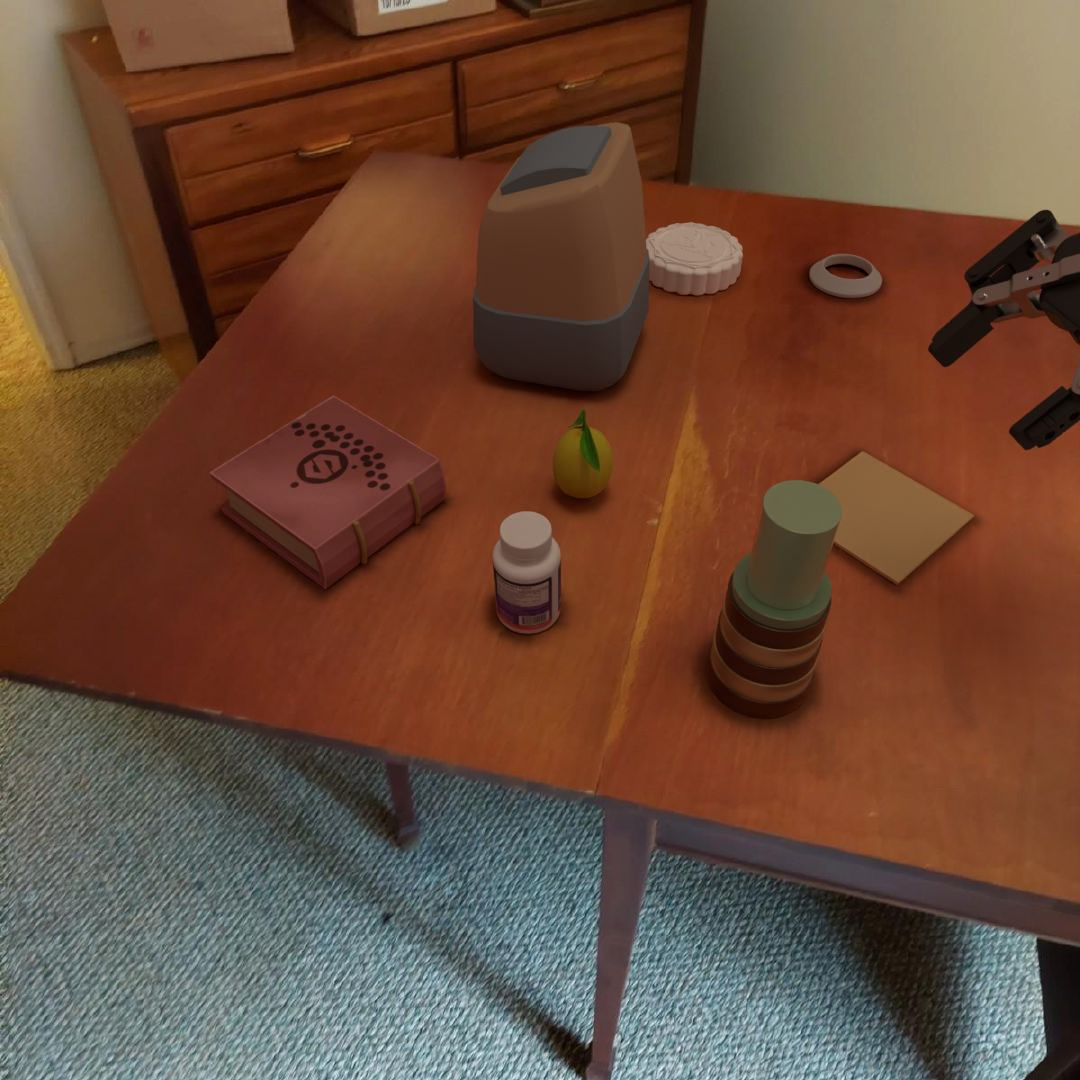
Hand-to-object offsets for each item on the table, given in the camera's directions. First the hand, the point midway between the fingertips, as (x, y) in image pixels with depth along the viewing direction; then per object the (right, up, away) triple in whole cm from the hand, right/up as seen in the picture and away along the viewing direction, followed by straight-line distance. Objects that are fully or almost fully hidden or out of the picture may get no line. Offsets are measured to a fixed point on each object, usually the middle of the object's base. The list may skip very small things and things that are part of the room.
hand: (974, 398), depth 59 cm
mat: (+4, -6, +28) cm, 29 cm away
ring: (+10, +22, +56) cm, 61 cm away
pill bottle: (-28, -15, +21) cm, 38 cm away
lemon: (-23, -5, +30) cm, 38 cm away
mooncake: (-8, +24, +58) cm, 63 cm away
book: (-46, -6, +29) cm, 55 cm away
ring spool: (-10, -12, +9) cm, 18 cm away
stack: (-10, -19, +16) cm, 27 cm away
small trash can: (-24, +12, +46) cm, 54 cm away
